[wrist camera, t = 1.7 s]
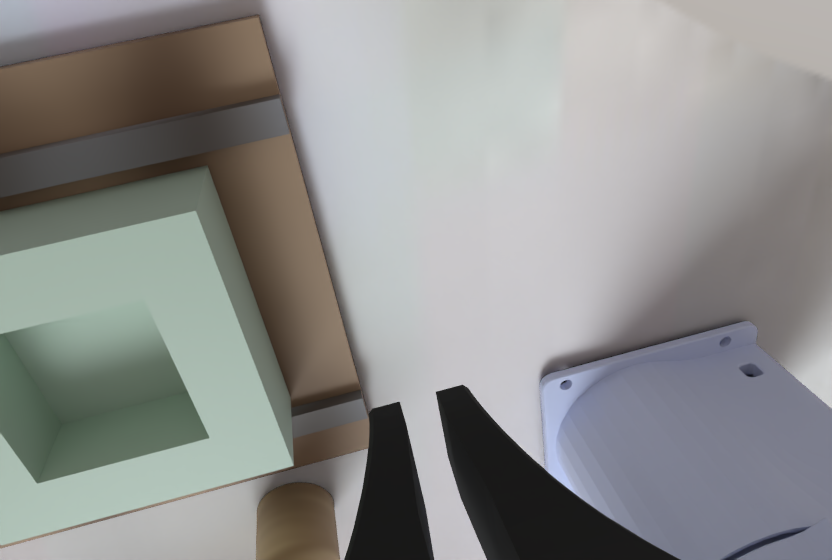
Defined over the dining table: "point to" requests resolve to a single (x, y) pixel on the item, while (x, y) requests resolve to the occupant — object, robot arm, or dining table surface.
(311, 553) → the oak dowel
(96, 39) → the dining table surface
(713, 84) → the dining table surface
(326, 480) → the dining table surface
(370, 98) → the dining table surface
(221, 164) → the walnut board
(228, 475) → the sage socket block
